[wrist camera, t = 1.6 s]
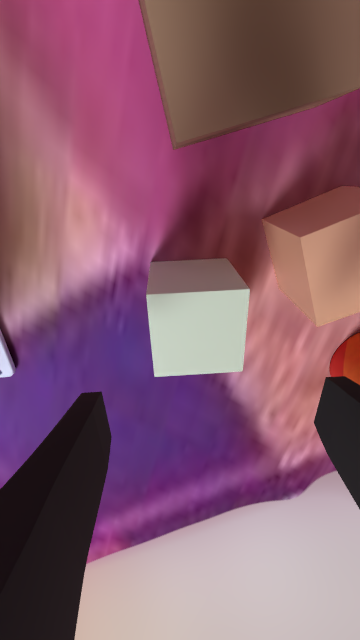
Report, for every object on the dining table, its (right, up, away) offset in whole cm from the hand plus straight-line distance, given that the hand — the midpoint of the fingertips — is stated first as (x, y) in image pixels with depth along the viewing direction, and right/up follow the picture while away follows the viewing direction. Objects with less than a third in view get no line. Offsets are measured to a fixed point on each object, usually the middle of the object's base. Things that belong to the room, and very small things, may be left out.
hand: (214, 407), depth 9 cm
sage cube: (-1, +4, +8) cm, 10 cm away
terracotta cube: (+6, +7, +7) cm, 12 cm away
